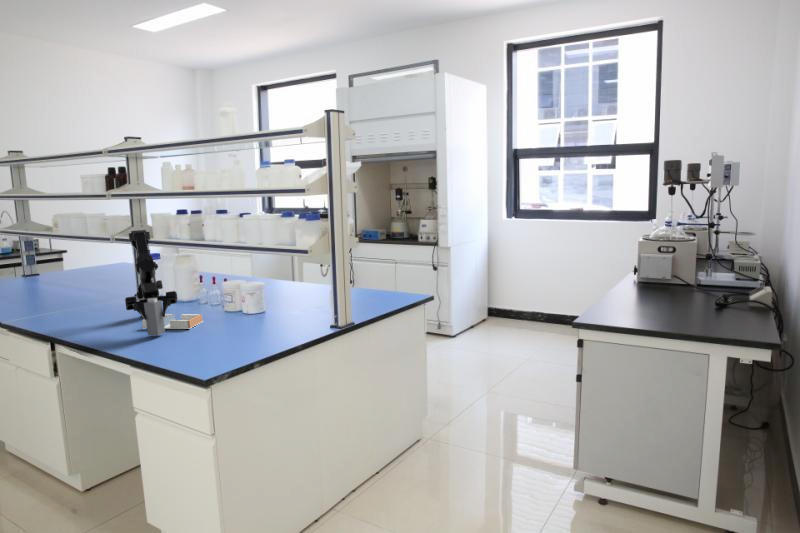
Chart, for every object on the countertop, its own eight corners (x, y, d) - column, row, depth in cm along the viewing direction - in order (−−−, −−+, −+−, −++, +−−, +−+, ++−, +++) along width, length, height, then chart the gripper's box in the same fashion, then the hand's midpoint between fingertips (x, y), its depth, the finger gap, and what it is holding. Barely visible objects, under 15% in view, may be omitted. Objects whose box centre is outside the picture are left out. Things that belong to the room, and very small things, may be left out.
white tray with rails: (141, 329, 221) (139, 320, 221) (157, 321, 232) (156, 313, 231) (189, 330, 218) (188, 321, 217) (203, 322, 228) (202, 314, 227)
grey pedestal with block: (147, 335, 209) (143, 300, 206) (154, 331, 213) (150, 297, 210) (158, 335, 208) (153, 300, 205) (165, 331, 212) (160, 297, 210)
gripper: (122, 277, 205) (127, 311, 198) (173, 271, 214) (180, 303, 207) (123, 293, 213) (128, 326, 206) (173, 286, 222) (180, 318, 215)
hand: (154, 318), depth 208 cm, fingers closed on grey pedestal with block, 6 cm apart
